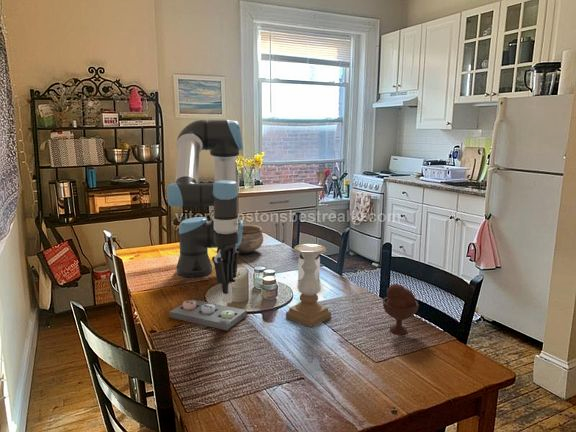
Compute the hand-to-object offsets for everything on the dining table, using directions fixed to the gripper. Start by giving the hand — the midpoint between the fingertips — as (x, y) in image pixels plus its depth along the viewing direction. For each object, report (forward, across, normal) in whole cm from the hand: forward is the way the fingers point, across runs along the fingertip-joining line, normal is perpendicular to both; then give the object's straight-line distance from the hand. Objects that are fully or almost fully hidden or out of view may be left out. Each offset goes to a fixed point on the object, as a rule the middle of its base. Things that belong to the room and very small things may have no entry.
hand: (227, 301), depth 144 cm
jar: (+7, +48, -9) cm, 50 cm away
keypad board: (+7, -1, +7) cm, 10 cm away
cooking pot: (+8, +71, +35) cm, 80 cm away
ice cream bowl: (+6, +16, -52) cm, 55 cm away
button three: (+7, -1, +7) cm, 10 cm away
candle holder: (+7, +13, -23) cm, 27 cm away
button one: (+7, -1, 0) cm, 7 cm away
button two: (+6, -1, +15) cm, 16 cm away
